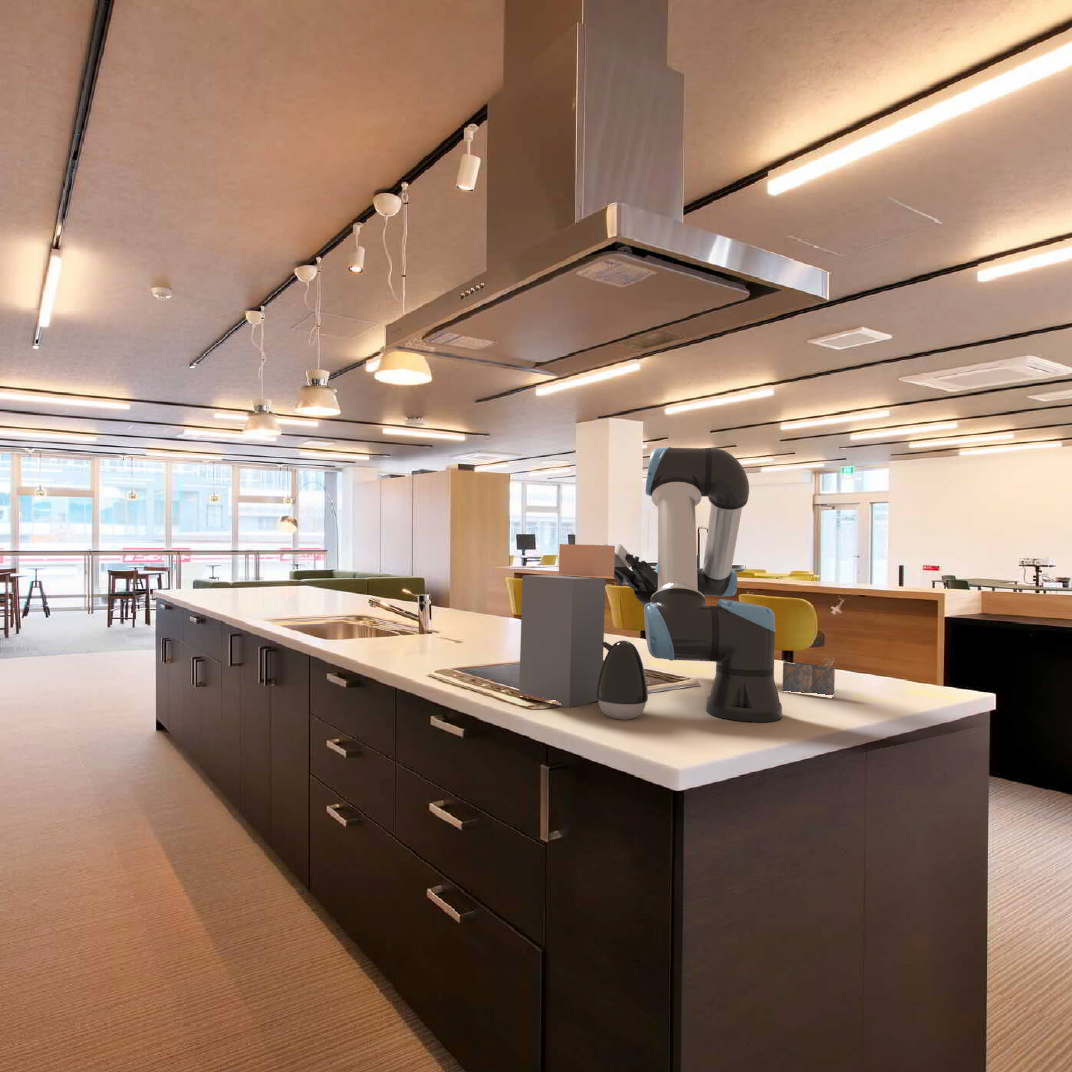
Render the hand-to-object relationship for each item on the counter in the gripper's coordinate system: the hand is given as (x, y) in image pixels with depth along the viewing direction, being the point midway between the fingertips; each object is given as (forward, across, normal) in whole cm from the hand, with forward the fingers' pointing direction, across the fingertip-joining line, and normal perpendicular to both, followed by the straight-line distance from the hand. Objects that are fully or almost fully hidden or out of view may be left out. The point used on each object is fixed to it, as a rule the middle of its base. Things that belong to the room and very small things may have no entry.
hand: (611, 549), depth 176 cm
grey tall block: (-1, 0, -38) cm, 38 cm away
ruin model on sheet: (-44, -37, -14) cm, 59 cm away
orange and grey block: (0, 0, -7) cm, 7 cm away
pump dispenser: (+3, -19, -40) cm, 45 cm away
